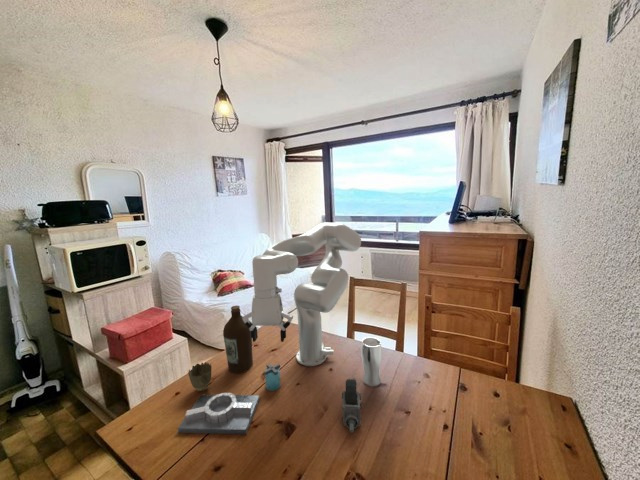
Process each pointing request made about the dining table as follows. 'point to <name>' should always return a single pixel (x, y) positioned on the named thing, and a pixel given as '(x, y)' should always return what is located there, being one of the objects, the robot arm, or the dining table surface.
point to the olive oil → (238, 343)
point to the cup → (200, 376)
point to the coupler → (272, 377)
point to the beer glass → (371, 360)
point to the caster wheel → (351, 406)
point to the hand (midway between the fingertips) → (269, 339)
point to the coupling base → (224, 426)
